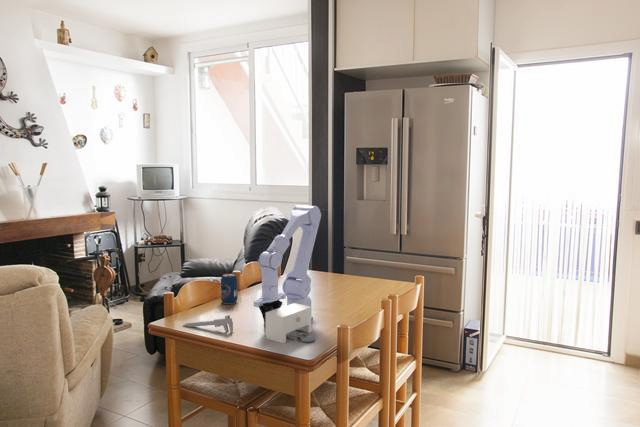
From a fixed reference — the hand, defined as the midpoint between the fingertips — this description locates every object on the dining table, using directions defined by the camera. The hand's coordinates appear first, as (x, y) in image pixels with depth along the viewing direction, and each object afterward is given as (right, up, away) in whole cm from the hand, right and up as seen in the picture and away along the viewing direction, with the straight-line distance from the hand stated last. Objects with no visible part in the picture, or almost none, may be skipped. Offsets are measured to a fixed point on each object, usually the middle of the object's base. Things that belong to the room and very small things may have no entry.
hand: (270, 322), depth 177 cm
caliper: (-23, -3, +1) cm, 23 cm away
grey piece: (+5, -3, -4) cm, 7 cm away
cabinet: (+7, -3, -5) cm, 9 cm away
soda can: (-21, +1, +35) cm, 41 cm away
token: (+13, -4, -10) cm, 17 cm away
